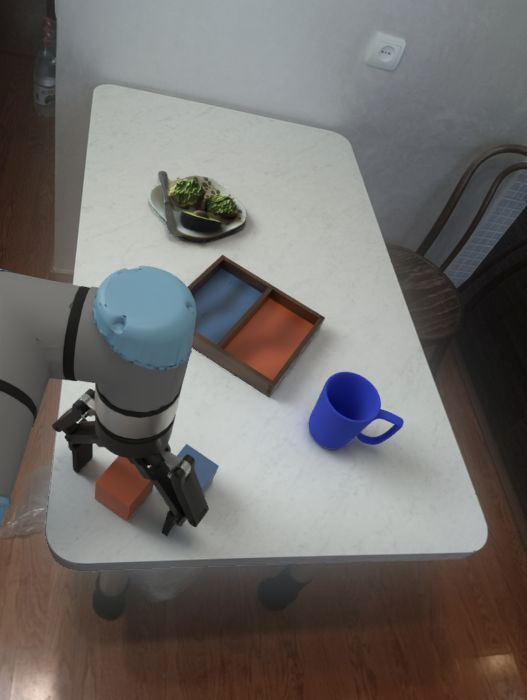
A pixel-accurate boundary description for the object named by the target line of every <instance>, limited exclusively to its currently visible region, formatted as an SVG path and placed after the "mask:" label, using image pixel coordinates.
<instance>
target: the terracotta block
mask: <svg viewBox="0 0 527 700" xmlns="http://www.w3.org/2000/svg"><path fill="white" fill-rule="evenodd" d="M154 487H155V486H154V485H153V483H152V482H151V480H147V479H144V478H143V476H142V475H141V474H140V472H139V471H138V469H137V468H136V466H135V465H134V464H131V463H130V462H129V460H128V459H127V458H124V457H120V456H118V455H117V457H116V458H115V459H114V460H113V462H112V463H110V465H108V467H107V468H106V469H105V470H104V472H103V473H102V474H100V476H99V477H98V478H97V479H96V480H95V482H94V500H95V501H97V502H98V503H100V504H102V505H103V506H104V507H106V508H107V509H108V510H109V511H111V512H112V513H114V514H115V515H116V516H118V517H120V518H121V519H122V520H124V521H125V522H129V521H130V519H131V518H132V517H133V516H134V514H135V513H136V512H137V510H138V509H139V508H140V507H141V506H142V504H144V502H145V501H146V499H147V498H148V497H149V496H150V494H151V493H152V492H153V490H154Z"/></svg>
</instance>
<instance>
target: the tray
mask: <svg viewBox="0 0 527 700" xmlns="http://www.w3.org/2000/svg"><path fill="white" fill-rule="evenodd" d="M187 287H188V289H189V290H190V292H191V294H192V296H193V298H194V300H195V305H196V314H197V317H196V323H195V330H194V337H193V344H192V349H193V350H196V351H197V352H198V353H200V354H202V355H203V356H205V357H206V358H207V359H210V360H211V362H214V363H216V364H217V365H218V366H220V367H222V368H223V369H225V370H226V371H228V372H229V373H231V374H233V376H236V377H237V378H239V379H240V380H241V381H243V382H245V383H246V384H248V385H250V386H251V387H252V388H254V389H256V390H257V391H258V392H260V393H262V394H264V395H265V396H266V397H268V398H270V397H271V396H272V394H273V393H274V392H275V391H276V389H277V388H278V387H279V385H280V384H281V383H282V381H283V379H284V378H285V377H286V375H287V374H288V373H289V371H290V370H291V369H292V367H293V366H294V364H295V363H296V362H297V361H298V359H299V358H300V356H301V355H302V353H303V352H304V351H305V349H306V348H307V346H308V345H309V344H310V342H311V341H312V340H313V339H314V337H315V336H316V334H317V333H318V331H319V330H320V329H321V327H322V325H323V323H324V321H325V319H326V317H325V316H324V315H322V314H320V313H319V312H317V311H315V310H313V309H312V308H310V307H309V306H307V305H305V304H304V303H302V302H301V301H299V300H297V299H296V298H294V297H292V296H291V295H289V294H287V293H286V292H284V291H283V290H282V289H279V288H277V287H276V286H274V285H273V284H271V283H270V282H267V281H266V280H265V279H263V278H261V277H260V276H258V275H256V274H255V273H253V272H252V271H250V270H249V269H247V268H245V267H243V266H242V265H240V264H239V263H237V262H235V261H234V260H232V259H230V258H229V257H227V256H225V255H224V254H221V255H220V256H219V257H218V258H217V259H216V260H215V261H214V262H212V264H210V265H209V266H208V267H207V268H206V269H204V271H203V272H202V273H200V275H198V277H196V278H195V279H194V280H193V281H192V282H191V283H190V284H189V285H187Z"/></svg>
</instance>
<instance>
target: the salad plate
mask: <svg viewBox="0 0 527 700" xmlns="http://www.w3.org/2000/svg"><path fill="white" fill-rule="evenodd" d="M157 176H158V184H157V185H155V186H154V187H153V188H152V189H151V190H150V192H149V196H148V200H149V203H150V205H151V206H152V208H153V210H154V211H155V212H156V213H157V214H158V215H159V216H160V217H161V218H162V219H163V220H164V221H165V224H166V227H167V230H168V232H169V234H171V235H172V236H173V237H174V238H175V237H181V238H183V239H185V240H187V241H192V242H197V243H207V242H212V241H215V240H218V239H222V238H226V237H228V236H230V235H232V234H234V233H236V232H237V231H240V229H242V228H243V227H245V225H246V221H247V210H246V208H245V207H244V206H243V205H242V203H241V202H239V200H237V199H236V198H235V197H234V196H233V195H232V194H231V193H230V192H229V191H228V190H227V189H226V188H224V186H223V185H222V184H220V183H219V182H218V181H217V180H215V179H214V178H211V177H208V176H203V175H196V174H195V175H194V174H193V175H189V176H185V177H182V178H180V176H179V177H177V178H176V179H175V180H172V179H171V180H170V178H169V175H168V173H167V172H166V171H165V170H159V171H158V173H157Z"/></svg>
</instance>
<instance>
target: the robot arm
mask: <svg viewBox="0 0 527 700" xmlns="http://www.w3.org/2000/svg"><path fill="white" fill-rule="evenodd" d="M196 317H197V314H196V305H195V300H194V298H193V296H192V294H191V292H190V290H189V289H188V285H186V284H185V282H184V281H182V280H181V279H180V278H179V277H178V276H176V275H174V274H172V273H171V272H169V271H167V270H165V269H162V268H158V267H154V266H148V265H139V266H138V267H135V268H130V269H129V268H127V267H125V268H121V269H118V270H116V271H114V272H112V273H111V274H109V275H108V276H107V277H106V278H105V279H103V281H102V282H101V284H100V285H99V287H97V286H85V285H78V284H77V285H76V284H73V283H72V284H71V283H66V282H60V281H55V280H51V279H45V278H40V277H36V276H31V275H25V274H22V273H16V272H13V271H9V270H7V269H2V268H0V529H1V528H2V525H3V523H4V520H5V518H6V516H7V513H8V511H9V509H10V507H11V506H12V499H11V498H12V495H13V492H14V489H15V485H16V482H17V478H18V476H19V472H20V469H21V466H22V462H23V458H24V455H25V452H26V449H27V445H28V443H29V439H30V435H31V433H32V429H33V427H34V425H35V422H36V420H37V418H38V417H37V416H38V414H39V411H40V408H41V405H42V402H43V399H44V396H45V393H46V391H47V390H46V389H47V386H48V383H49V381H50V379H53V380H63V381H71V382H83V383H92V384H94V389H92V388H88V389H87V390H86V391H85V392H84V393H83V394H82V395H81V396H79V398H78V399H76V400H75V401H74V402H73V403H72V405H71V407H70V408H69V409H67V410H66V411H65V412H64V413H63V414H62V415H61V416H60V417H59V418H57V419H56V421H54V423H52V424H51V427H52V429H53V431H55V432H57V433H61V432H63V433H64V434H65V435H64V439H65V441H66V442H67V447H68V449H69V451H71V458H72V459H71V461H72V471H74V472H75V473H77V474H79V473H80V472H81V471H82V469H84V467H86V465H87V464H88V463H89V462H90V461H91V460H93V457H94V445H96V446H97V447H98V448H105V449H106V450H107V451H109V452H110V453H112V454H113V455H116V456H117V457H118V456H120V457H124V458H127V459H128V460H129V462H130V463H131V464H134V465H135V466H136V468H137V469H138V471H139V472H140V474H141V475H142V476H143V478H144V479H147V480H151V482H152V483H153V485H154V486H153V487H154V488H155V489H156V491H157V492H158V494H159V495H160V496H161V498H162V500H163V501H164V503H165V504H166V505H167V507H168V508H169V510H168V511H167V513H166V515H165V520H164V523H163V527H162V530H161V534H163V535H164V536H165V537H168V535H169V534H170V532H171V531H172V530H173V529H174V527H175V526H177V527H182V526H183V525H184V524H185V522H186V521H187V523H188V524H189V525H190V526H191V527H193V528H197V527H198V526H199V525H200V523H201V522H202V520H203V519H204V517H205V516H206V515H207V514H208V512H209V510H210V507H209V504H208V502H207V499H206V496H205V493H204V494H203V491H202V488H201V486H200V483H199V480H198V478H197V475H196V473H195V470H194V468H195V459H194V458H193V457H192V456H191V455H188V454H186V455H185V456H184V457H183V458H179V457H178V456H177V455H176V454H174V453H173V452H172V449H171V445H170V443H169V441H170V439H171V437H172V433H173V430H174V424H175V420H176V415H177V411H178V407H179V401H180V396H181V392H182V388H183V384H184V381H185V377H186V372H187V368H188V365H189V361H190V357H191V355H192V351H193V350H192V349H193V348H192V344H193V337H194V330H195V323H196ZM93 416H94V420H87V418H88V417H90V418H91V417H92V418H93Z"/></svg>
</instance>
